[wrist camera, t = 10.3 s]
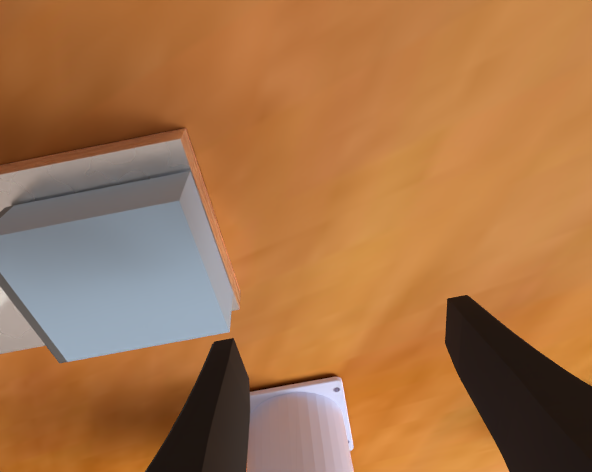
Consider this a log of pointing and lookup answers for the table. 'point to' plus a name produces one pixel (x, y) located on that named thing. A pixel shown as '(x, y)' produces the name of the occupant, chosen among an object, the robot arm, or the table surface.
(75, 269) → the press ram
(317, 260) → the table surface
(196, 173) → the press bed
